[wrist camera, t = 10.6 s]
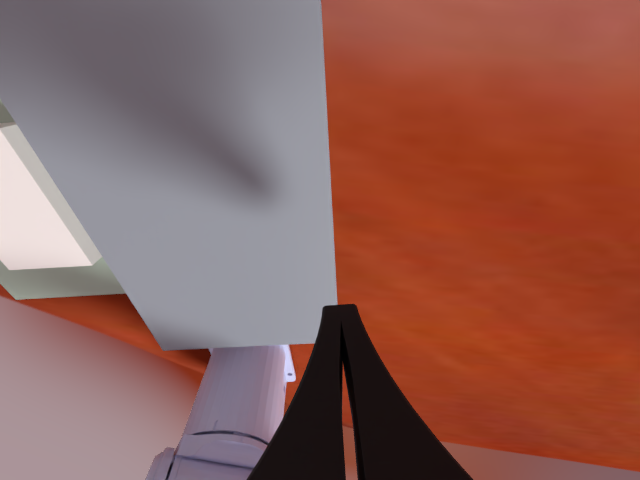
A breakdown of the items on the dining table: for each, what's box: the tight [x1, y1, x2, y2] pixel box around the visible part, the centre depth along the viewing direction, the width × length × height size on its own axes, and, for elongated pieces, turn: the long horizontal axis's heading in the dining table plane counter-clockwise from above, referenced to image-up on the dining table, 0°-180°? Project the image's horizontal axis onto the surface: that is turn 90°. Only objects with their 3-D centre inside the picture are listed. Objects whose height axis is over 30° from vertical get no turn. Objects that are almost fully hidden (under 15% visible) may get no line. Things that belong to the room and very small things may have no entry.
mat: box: [0, 99, 125, 300], centre depth 18 cm, size 20×13×1 cm, turn 4°
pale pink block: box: [0, 122, 102, 270], centre depth 17 cm, size 9×6×2 cm, turn 4°
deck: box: [0, 0, 337, 351], centre depth 17 cm, size 24×14×4 cm, turn 4°
